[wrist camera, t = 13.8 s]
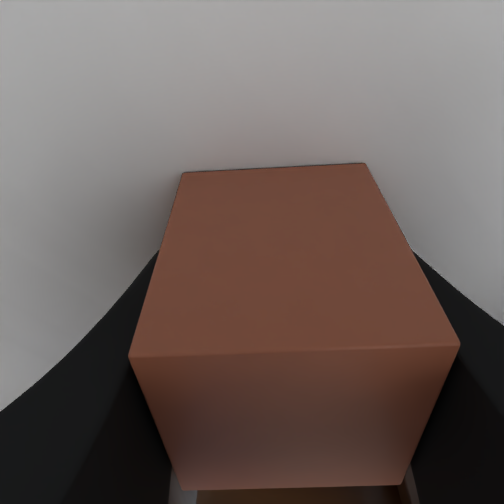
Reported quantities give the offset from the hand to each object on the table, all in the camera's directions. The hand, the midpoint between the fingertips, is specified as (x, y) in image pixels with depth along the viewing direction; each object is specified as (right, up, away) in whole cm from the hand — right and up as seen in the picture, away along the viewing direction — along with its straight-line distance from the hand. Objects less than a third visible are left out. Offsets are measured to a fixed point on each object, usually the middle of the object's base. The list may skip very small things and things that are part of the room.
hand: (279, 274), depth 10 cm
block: (0, +1, +1) cm, 1 cm away
